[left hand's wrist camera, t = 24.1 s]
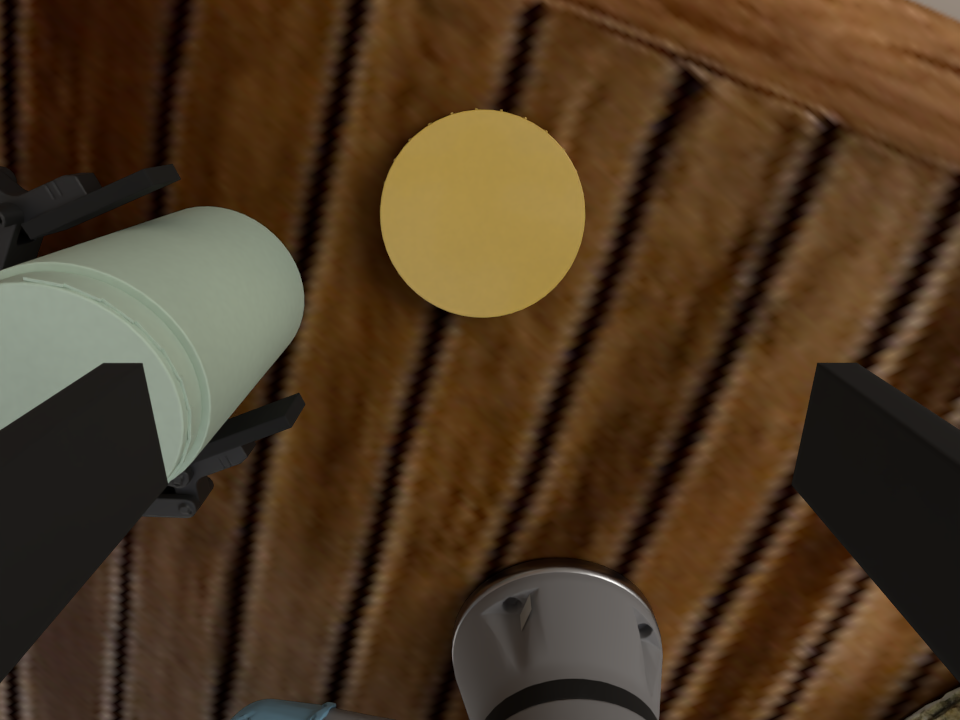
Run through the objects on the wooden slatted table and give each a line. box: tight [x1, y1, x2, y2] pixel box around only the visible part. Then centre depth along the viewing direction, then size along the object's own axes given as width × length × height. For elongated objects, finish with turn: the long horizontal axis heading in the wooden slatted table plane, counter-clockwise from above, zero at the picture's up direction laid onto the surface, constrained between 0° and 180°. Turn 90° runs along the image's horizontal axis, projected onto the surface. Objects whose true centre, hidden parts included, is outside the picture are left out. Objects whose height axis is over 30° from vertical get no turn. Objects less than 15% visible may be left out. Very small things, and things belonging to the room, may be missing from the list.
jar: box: [0, 206, 304, 483], centre depth 30 cm, size 10×10×16 cm
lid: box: [380, 108, 585, 318], centre depth 34 cm, size 11×11×2 cm
